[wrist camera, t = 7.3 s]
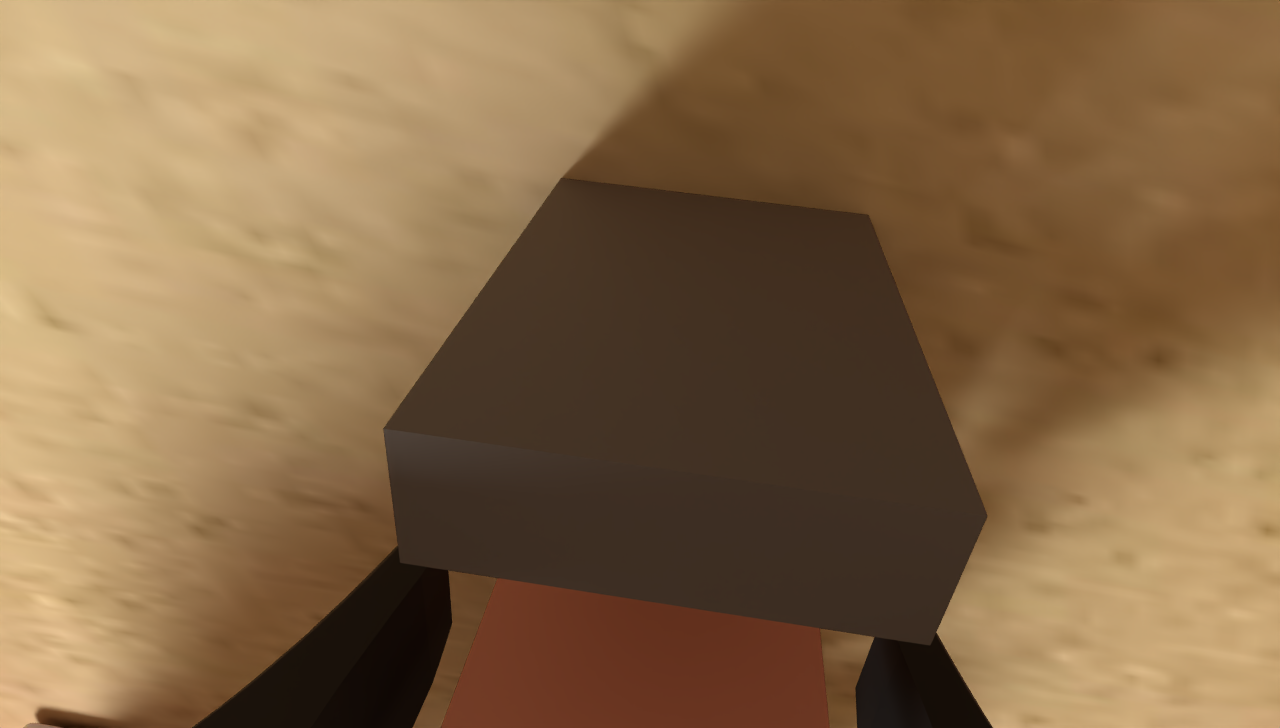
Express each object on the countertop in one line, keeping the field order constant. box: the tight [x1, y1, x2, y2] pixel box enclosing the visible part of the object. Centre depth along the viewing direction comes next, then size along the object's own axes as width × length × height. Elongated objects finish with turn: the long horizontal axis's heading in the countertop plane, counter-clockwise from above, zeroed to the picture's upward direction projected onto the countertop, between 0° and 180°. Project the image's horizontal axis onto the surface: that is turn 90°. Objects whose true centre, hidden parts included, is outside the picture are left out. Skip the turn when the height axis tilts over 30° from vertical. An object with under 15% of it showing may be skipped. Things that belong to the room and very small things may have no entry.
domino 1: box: [383, 178, 987, 645], centre depth 10 cm, size 2×5×7 cm, turn 85°
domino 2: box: [441, 578, 830, 728], centre depth 12 cm, size 2×5×7 cm, turn 86°
